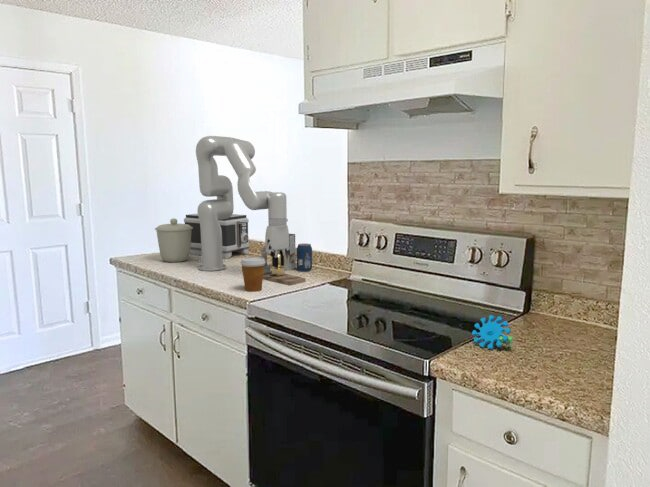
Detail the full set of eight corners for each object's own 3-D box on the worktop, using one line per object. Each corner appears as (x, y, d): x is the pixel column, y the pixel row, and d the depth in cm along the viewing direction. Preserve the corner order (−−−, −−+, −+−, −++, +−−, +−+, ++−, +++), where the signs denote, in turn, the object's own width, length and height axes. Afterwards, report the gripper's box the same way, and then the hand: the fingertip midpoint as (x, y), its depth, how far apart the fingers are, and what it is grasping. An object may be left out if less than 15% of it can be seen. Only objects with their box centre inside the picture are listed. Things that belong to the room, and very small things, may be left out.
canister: (148, 262, 250) (146, 219, 247) (172, 256, 267) (171, 215, 263) (178, 265, 243) (176, 221, 240) (201, 258, 260) (200, 217, 257)
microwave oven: (233, 260, 257) (232, 218, 254) (184, 253, 274) (182, 214, 271) (256, 254, 273) (255, 215, 269) (208, 249, 290) (207, 212, 287)
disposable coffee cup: (251, 294, 190) (251, 262, 188) (235, 289, 196) (235, 259, 194) (271, 289, 197) (270, 259, 195) (255, 285, 203) (254, 255, 201)
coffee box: (296, 267, 238) (296, 233, 235) (290, 270, 232) (290, 235, 229) (278, 266, 241) (278, 232, 239) (272, 269, 235) (272, 234, 233)
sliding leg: (267, 275, 213) (267, 254, 212) (278, 273, 218) (278, 252, 216) (273, 276, 210) (273, 255, 209) (284, 274, 215) (284, 253, 214)
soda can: (302, 268, 237) (302, 242, 235) (314, 270, 233) (315, 244, 231) (293, 271, 231) (293, 244, 229) (306, 272, 227) (306, 246, 225)
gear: (464, 337, 138) (484, 308, 141) (471, 348, 142) (490, 320, 144) (499, 354, 130) (520, 323, 132) (506, 365, 134) (525, 335, 136)
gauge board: (251, 276, 219) (250, 248, 218) (266, 273, 226) (266, 246, 224) (289, 285, 203) (289, 255, 202) (305, 281, 210) (305, 252, 208)
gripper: (285, 220, 220) (286, 262, 223) (256, 223, 208) (257, 267, 211) (297, 221, 215) (298, 264, 218) (268, 224, 203) (269, 270, 206)
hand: (278, 265), depth 214 cm, fingers closed on sliding leg, 2 cm apart
